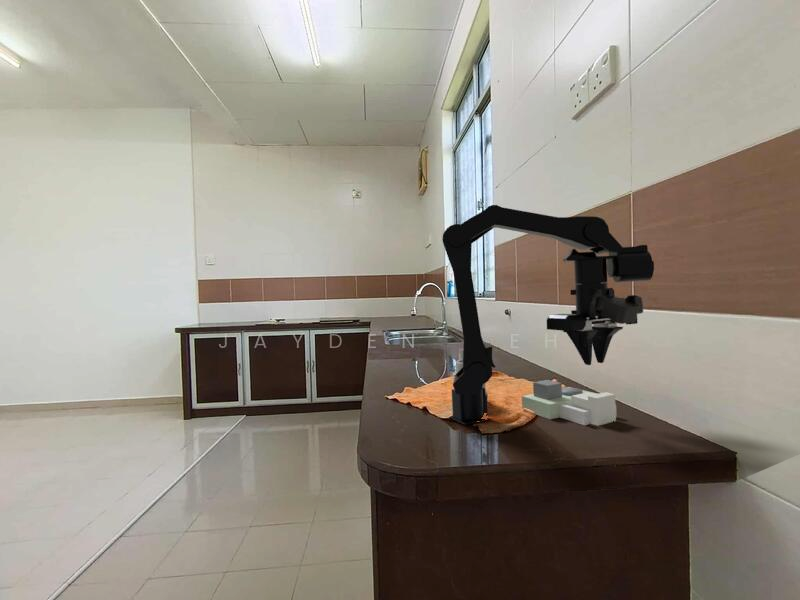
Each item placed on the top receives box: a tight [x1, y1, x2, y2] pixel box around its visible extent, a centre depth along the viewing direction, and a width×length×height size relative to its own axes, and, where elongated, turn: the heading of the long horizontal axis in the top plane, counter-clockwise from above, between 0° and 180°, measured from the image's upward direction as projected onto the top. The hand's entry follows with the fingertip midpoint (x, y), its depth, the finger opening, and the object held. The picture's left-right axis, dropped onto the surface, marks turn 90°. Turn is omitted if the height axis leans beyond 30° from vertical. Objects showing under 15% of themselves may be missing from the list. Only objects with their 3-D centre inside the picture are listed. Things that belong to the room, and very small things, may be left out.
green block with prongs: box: [521, 379, 617, 426], centre depth 85 cm, size 14×14×6 cm
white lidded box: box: [571, 391, 617, 427], centre depth 80 cm, size 5×6×5 cm
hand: (594, 363), depth 79 cm, fingers open, 3 cm apart
